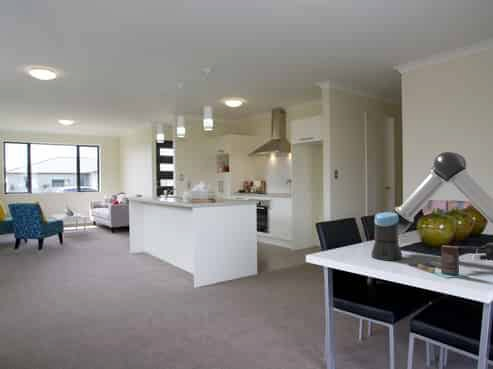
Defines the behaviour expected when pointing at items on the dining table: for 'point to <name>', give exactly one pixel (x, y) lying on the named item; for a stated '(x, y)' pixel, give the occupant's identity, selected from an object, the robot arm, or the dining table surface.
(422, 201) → the robot arm
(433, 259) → the dining table surface
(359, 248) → the dining table surface
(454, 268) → the box
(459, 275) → the pad
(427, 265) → the trap track
